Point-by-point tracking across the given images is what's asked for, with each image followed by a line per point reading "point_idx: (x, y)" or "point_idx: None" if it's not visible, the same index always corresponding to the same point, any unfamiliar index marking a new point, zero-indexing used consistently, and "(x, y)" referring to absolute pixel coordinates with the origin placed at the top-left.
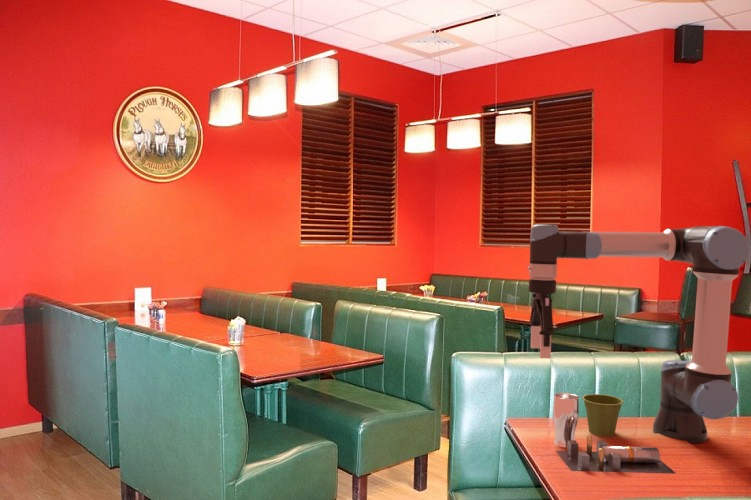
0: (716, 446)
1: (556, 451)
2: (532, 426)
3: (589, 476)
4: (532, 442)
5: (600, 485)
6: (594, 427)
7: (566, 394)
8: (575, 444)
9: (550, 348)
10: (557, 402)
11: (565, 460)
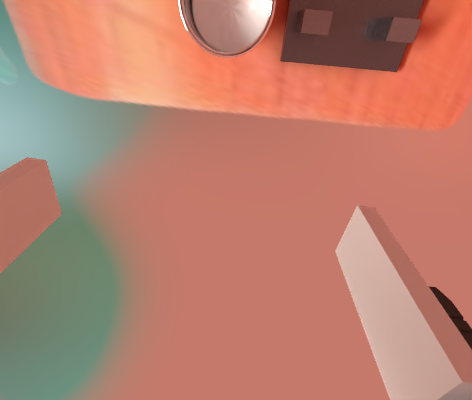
0: None
1: (285, 59)
2: (90, 45)
3: None
4: (206, 88)
5: (465, 23)
6: None
7: None
8: (330, 21)
9: (404, 257)
10: (245, 53)
11: (340, 60)
